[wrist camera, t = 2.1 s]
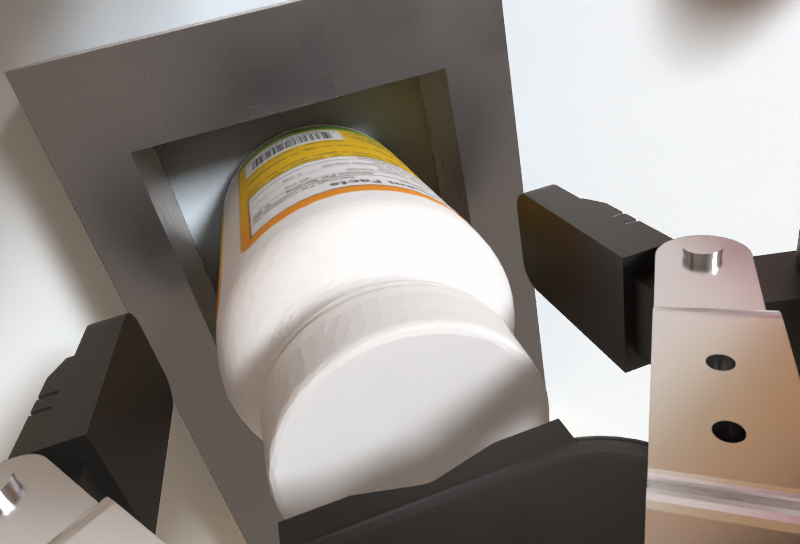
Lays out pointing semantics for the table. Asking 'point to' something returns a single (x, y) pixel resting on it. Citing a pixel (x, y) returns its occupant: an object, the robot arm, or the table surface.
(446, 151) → the rail
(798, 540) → the robot arm
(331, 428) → the supplement bottle
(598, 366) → the table surface
